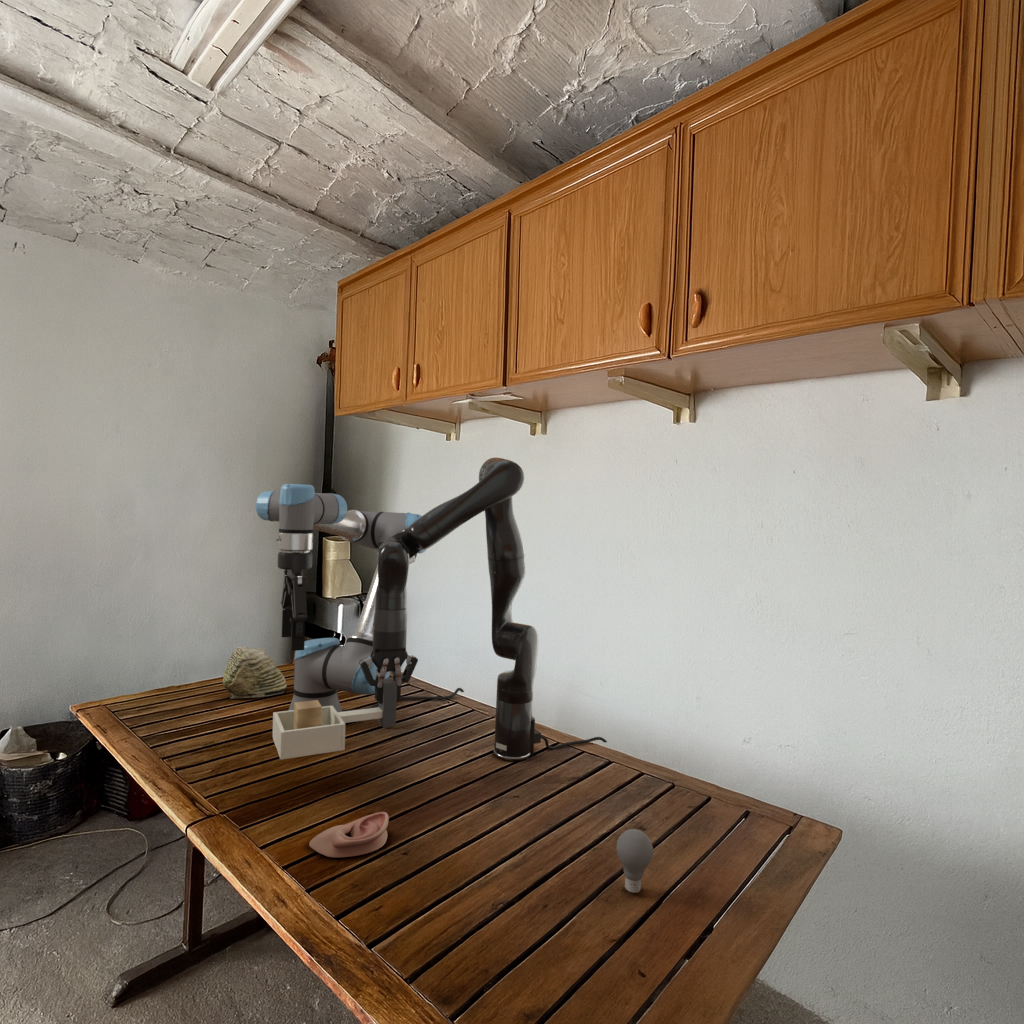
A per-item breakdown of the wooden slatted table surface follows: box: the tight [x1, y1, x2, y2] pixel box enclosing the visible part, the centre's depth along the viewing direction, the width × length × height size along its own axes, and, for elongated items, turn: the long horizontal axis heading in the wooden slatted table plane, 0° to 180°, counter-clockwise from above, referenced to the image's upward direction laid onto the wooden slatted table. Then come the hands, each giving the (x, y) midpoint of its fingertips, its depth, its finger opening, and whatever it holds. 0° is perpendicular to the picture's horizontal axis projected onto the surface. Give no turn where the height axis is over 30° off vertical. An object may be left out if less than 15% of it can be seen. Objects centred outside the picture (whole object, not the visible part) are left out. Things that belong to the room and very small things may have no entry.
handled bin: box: [272, 677, 397, 760], centre depth 140 cm, size 26×13×12 cm, turn 117°
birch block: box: [293, 700, 322, 730], centre depth 137 cm, size 5×5×8 cm
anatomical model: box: [308, 811, 390, 859], centre depth 117 cm, size 13×4×12 cm
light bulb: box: [615, 828, 654, 894], centre depth 106 cm, size 6×6×10 cm
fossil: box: [222, 646, 288, 699], centre depth 198 cm, size 9×18×15 cm, turn 132°
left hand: (292, 643), depth 146 cm, fingers open, 13 cm apart
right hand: (387, 701), depth 146 cm, fingers closed on handled bin, 3 cm apart
